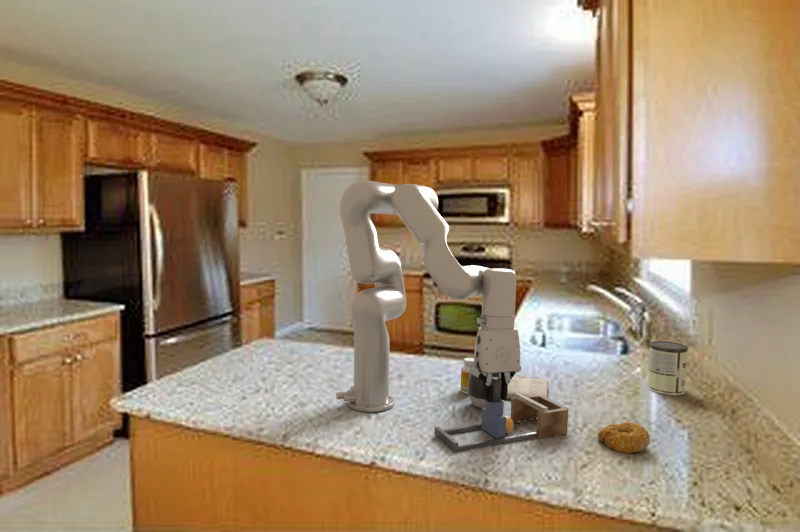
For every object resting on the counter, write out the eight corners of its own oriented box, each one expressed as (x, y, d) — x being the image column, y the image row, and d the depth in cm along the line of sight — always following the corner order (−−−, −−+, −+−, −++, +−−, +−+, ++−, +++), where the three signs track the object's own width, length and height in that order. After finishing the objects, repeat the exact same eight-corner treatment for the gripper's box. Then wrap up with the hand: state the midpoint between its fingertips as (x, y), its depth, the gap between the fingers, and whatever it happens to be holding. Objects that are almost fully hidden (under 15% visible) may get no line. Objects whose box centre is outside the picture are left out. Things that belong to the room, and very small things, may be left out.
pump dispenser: (497, 416, 132) (499, 358, 130) (460, 407, 137) (462, 352, 136) (510, 404, 140) (513, 350, 139) (475, 397, 146) (477, 345, 144)
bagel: (606, 432, 123) (607, 413, 123) (655, 446, 116) (656, 425, 115) (589, 444, 116) (590, 424, 116) (640, 460, 108) (641, 438, 108)
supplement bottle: (478, 395, 147) (479, 362, 146) (459, 393, 148) (460, 361, 147) (479, 389, 152) (480, 357, 152) (461, 388, 154) (462, 356, 153)
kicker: (496, 439, 116) (498, 384, 115) (479, 428, 122) (481, 375, 121) (507, 437, 117) (509, 382, 116) (490, 426, 123) (492, 374, 122)
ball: (501, 435, 118) (504, 419, 118) (491, 429, 122) (494, 413, 122) (515, 435, 120) (518, 419, 119) (505, 429, 123) (508, 413, 123)
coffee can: (646, 382, 162) (649, 339, 161) (683, 387, 158) (686, 343, 157) (647, 392, 153) (650, 346, 152) (686, 397, 149) (689, 350, 148)
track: (454, 452, 110) (454, 443, 110) (434, 435, 119) (434, 426, 119) (536, 437, 119) (537, 429, 119) (512, 422, 127) (513, 414, 127)
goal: (539, 439, 118) (540, 408, 117) (510, 421, 128) (511, 393, 128) (568, 433, 121) (570, 404, 121) (538, 416, 132) (539, 389, 131)
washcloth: (548, 386, 158) (548, 377, 158) (548, 406, 141) (548, 395, 141) (509, 382, 161) (509, 373, 161) (504, 401, 144) (505, 390, 144)
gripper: (474, 327, 111) (471, 409, 112) (537, 323, 117) (533, 401, 118) (458, 320, 118) (455, 397, 119) (519, 317, 124) (515, 391, 125)
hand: (494, 398), depth 119 cm, fingers closed on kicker, 3 cm apart
